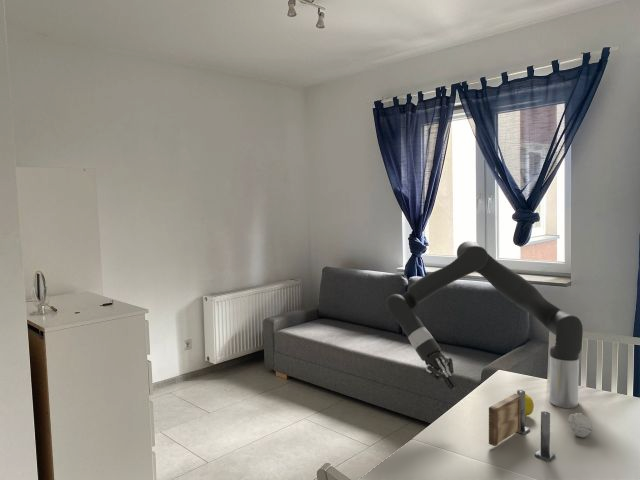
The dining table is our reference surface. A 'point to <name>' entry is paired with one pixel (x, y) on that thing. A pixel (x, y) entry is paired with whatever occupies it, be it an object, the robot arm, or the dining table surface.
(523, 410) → the grey upright posts
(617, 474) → the dining table surface
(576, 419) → the white lumpy piece
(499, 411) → the gate
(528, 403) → the lemon
